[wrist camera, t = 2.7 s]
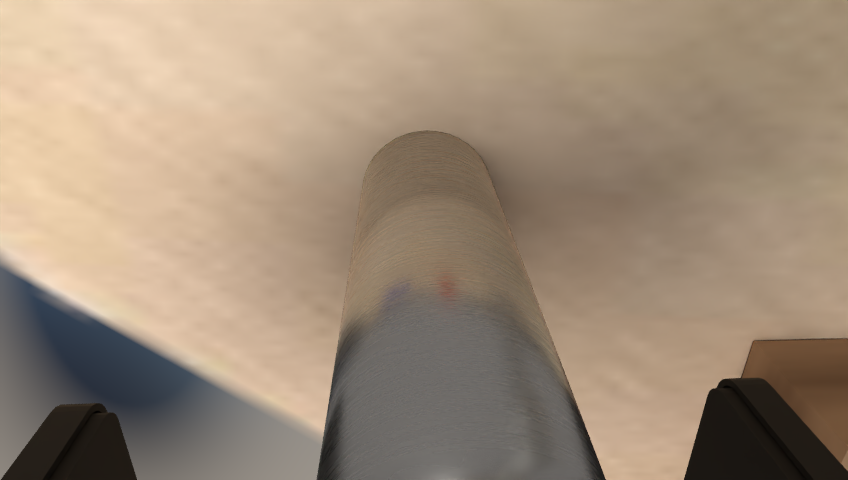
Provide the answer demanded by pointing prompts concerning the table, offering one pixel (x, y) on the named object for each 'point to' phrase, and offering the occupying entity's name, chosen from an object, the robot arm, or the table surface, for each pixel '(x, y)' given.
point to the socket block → (809, 384)
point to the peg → (445, 336)
